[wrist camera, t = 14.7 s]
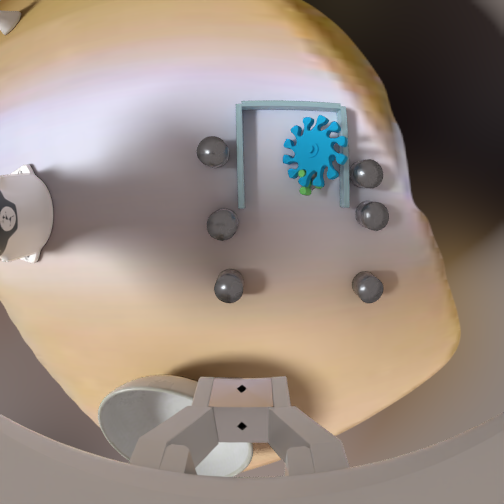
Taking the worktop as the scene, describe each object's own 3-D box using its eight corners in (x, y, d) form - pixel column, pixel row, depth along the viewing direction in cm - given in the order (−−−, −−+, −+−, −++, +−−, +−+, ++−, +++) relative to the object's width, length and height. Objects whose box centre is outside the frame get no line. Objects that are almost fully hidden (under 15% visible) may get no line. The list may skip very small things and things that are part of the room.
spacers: (209, 300, 44) (205, 309, 40) (201, 141, 39) (196, 137, 35) (373, 294, 43) (381, 302, 40) (378, 143, 38) (387, 140, 35)
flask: (3, 26, 29) (-19, 16, 20) (21, 7, 29) (0, -5, 19) (3, 40, 31) (-20, 30, 21) (22, 20, 30) (-1, 7, 20)
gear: (291, 108, 36) (352, 120, 30) (314, 121, 40) (371, 134, 34) (269, 181, 40) (326, 205, 33) (294, 186, 44) (347, 209, 38)
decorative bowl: (98, 358, 47) (70, 394, 35) (222, 329, 45) (212, 373, 33) (161, 446, 53) (149, 483, 41) (271, 431, 50) (273, 475, 39)
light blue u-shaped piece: (239, 207, 41) (238, 208, 39) (236, 105, 37) (235, 101, 35) (345, 206, 40) (349, 207, 38) (341, 107, 37) (345, 104, 35)
